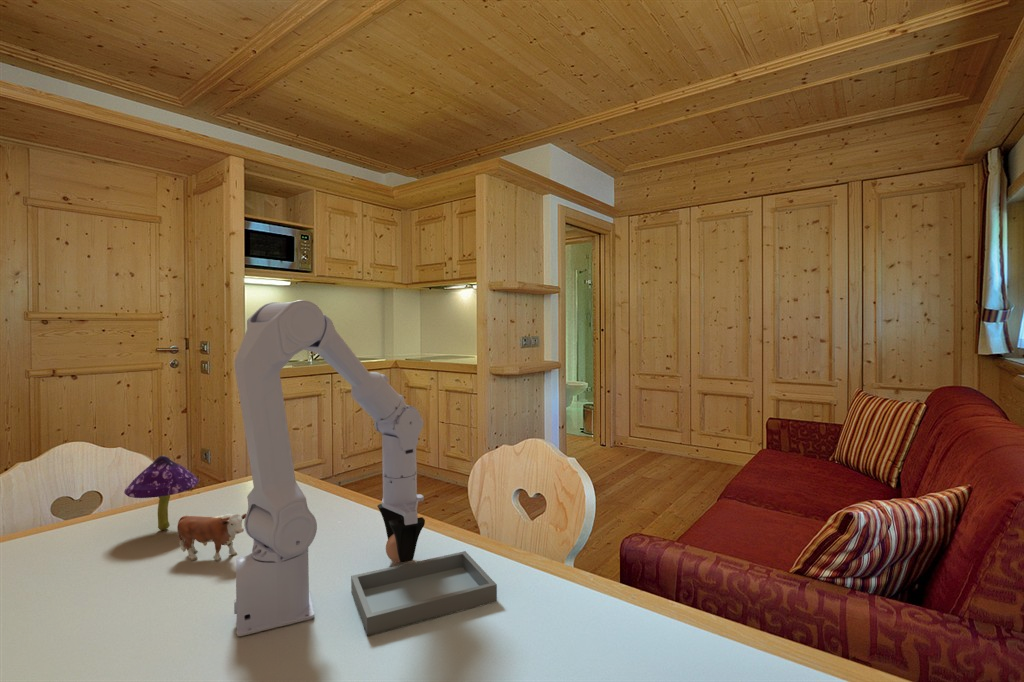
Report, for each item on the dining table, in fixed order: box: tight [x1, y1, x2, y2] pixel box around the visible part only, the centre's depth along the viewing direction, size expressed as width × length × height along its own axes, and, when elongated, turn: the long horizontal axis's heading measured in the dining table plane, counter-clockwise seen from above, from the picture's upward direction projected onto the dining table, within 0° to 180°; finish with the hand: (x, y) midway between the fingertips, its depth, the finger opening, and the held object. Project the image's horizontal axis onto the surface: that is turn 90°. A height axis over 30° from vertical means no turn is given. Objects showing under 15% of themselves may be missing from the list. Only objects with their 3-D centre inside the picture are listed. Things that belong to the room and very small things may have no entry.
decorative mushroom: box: [123, 455, 200, 531], centre depth 102 cm, size 12×12×15 cm
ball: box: [385, 534, 402, 564], centre depth 87 cm, size 5×5×5 cm
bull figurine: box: [176, 513, 247, 562], centre depth 90 cm, size 4×13×8 cm, turn 78°
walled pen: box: [350, 550, 498, 637], centre depth 76 cm, size 19×13×2 cm
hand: (400, 551), depth 87 cm, fingers open, 7 cm apart
